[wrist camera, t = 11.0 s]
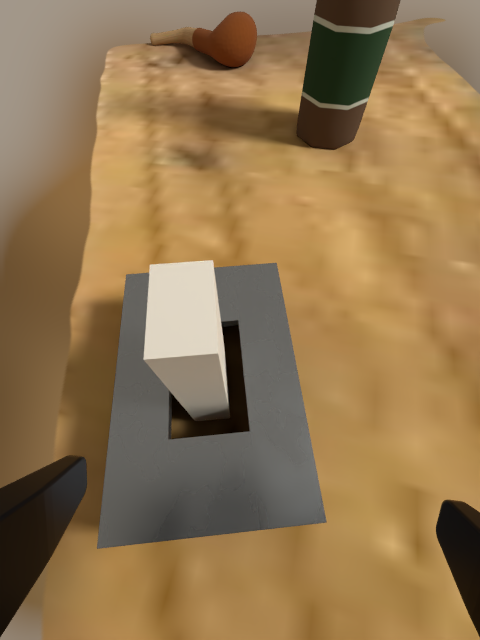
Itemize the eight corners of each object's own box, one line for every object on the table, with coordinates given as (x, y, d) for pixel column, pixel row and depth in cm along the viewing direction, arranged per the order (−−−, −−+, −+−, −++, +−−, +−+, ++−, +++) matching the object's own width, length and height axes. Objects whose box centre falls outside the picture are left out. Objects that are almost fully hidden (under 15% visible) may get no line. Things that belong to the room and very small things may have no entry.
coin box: (308, 512, 18) (326, 522, 14) (129, 532, 18) (96, 548, 14) (271, 295, 26) (276, 262, 22) (144, 306, 25) (126, 274, 21)
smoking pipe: (245, 78, 44) (245, 26, 39) (137, 58, 47) (125, 7, 42) (260, 57, 47) (263, 6, 42) (158, 40, 50) (149, -9, 45)
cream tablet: (230, 418, 21) (218, 353, 10) (195, 421, 21) (143, 359, 10) (226, 364, 23) (212, 260, 12) (194, 367, 23) (150, 264, 12)
